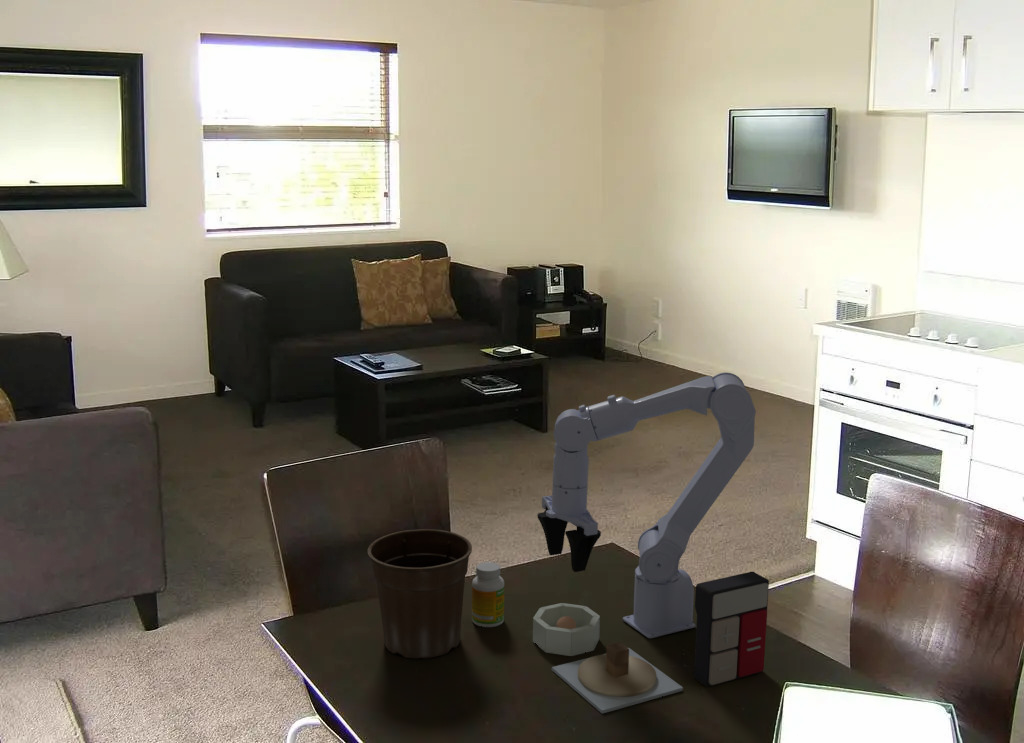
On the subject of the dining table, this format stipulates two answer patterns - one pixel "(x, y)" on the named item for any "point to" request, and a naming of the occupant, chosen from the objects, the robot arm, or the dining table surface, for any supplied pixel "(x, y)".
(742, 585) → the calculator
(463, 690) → the dining table surface
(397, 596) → the plant pot
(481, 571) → the supplement bottle
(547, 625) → the bowl
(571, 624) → the ball
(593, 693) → the mat
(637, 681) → the lid
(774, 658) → the dining table surface
